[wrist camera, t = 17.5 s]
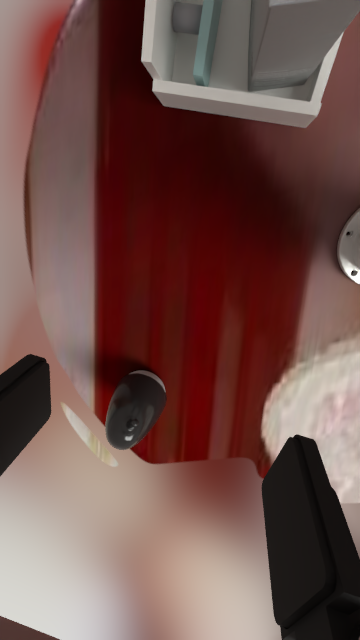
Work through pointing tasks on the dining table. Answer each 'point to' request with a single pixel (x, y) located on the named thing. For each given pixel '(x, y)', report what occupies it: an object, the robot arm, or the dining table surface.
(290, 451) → the robot arm
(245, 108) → the open box with divider
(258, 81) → the skincare box
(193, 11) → the pusher
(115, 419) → the dark grey egg shape
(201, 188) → the dining table surface
